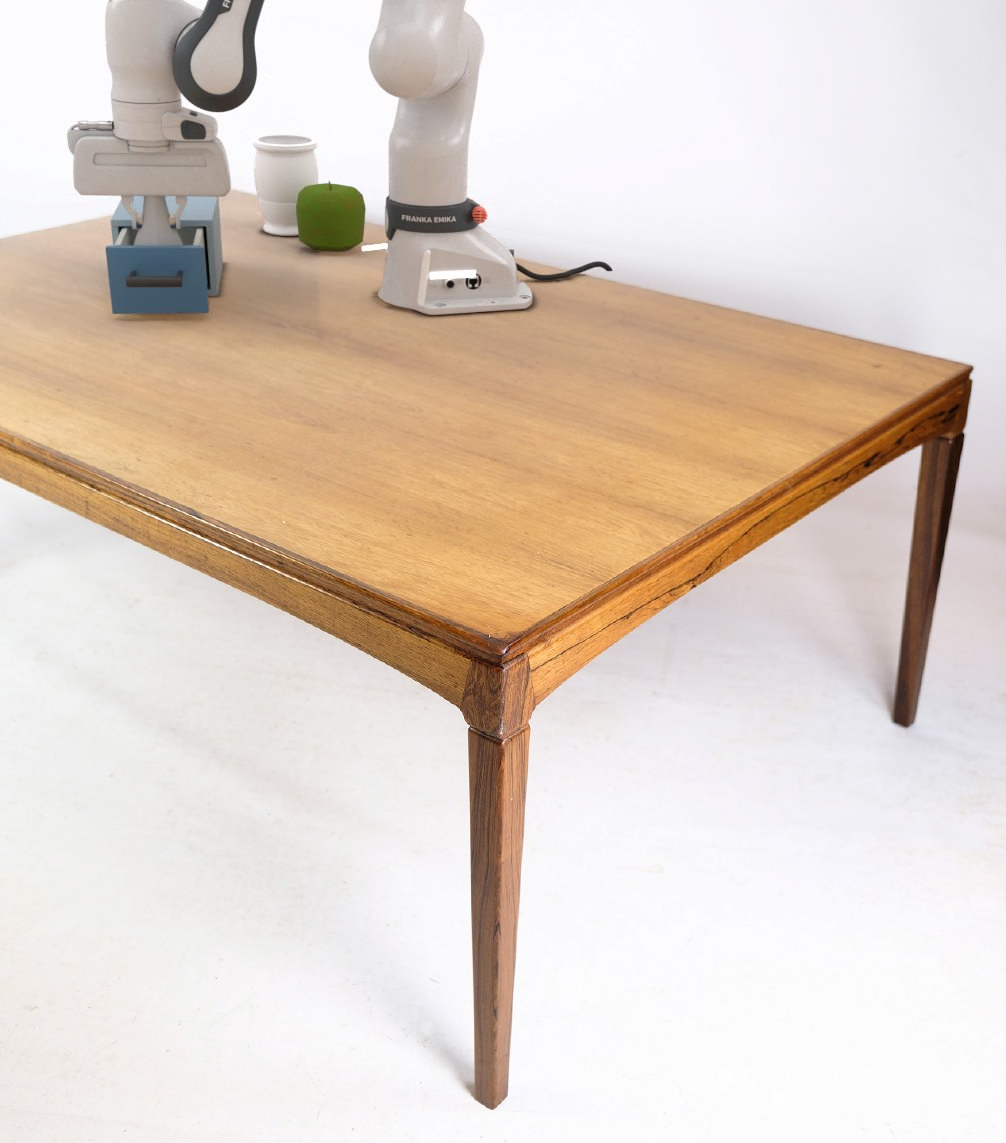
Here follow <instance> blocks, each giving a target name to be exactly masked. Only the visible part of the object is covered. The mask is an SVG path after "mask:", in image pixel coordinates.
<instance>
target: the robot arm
mask: <svg viewBox="0 0 1006 1143" xmlns="http://www.w3.org/2000/svg"><path fill="white" fill-rule="evenodd" d="M466 1H467V0H382V2H381V8H380V13H379V18H378V23H377V26H376V31H375V32H374V35H373V36H372V39H371V41H370V44H369V48H368V66H369V70H370V72H371V75H372V77H373V78H374V81H375V82H376V83H377V85H378V86H379V87H380V88H381V89H382V90H383V91H384V92H386V93H387V94H389V95H391V96H393V97H395V98H398V100H397V106H396V112H395V117H394V122H393V126H392V128H391V131H390V133H389V137H388V195H387V196H386V197H385V206H384V231H385V232H384V233H385V236H386V238H387V241H386V243H378V244H377V243H376V244H370V245H369V244H368V245H362V246H361V251H362V252H366V251H376V250H383V249H386V253H385V261H384V267H383V273H382V277H381V281H380V286H379V290H378V292H377V297H378V298H379V299H380V300H382V301H383V302H385V303H387V304H389V305H391V306H395V307H399V308H406V309H410V310H414V311H417V312H420V313H422V314H425V315H431V316H437V315H438V316H439V315H453V314H469V313H482V312H484V313H485V312H496V311H511V310H523V309H525V310H526V309H527V308H529V307H530V306H531V305H532V304H533V300H534V299H533V292H532V290H531V287H529V286H528V285H527V283H525V282H524V281H522V280H520V279H519V276H518V275H519V274H518V272H520V273H521V274H523V275H524V276H526V277H528V278H530V279H532V280H536V281H542V282H543V281H547V282H548V281H555V280H561V279H567V278H569V277H572V276H574V275H577V274H582V273H584V272H586V271H589V270H591V269H594V268H601V269H603V270H605V271H606V272H613V271H614V270H613V268H612V267H611V265H609V264H608V263H606V262H604V261H600V260H599V261H592V262H589V263H586V264H584V265H581V266H579V267H575V268H572V269H569V270H566V271H563V272H557V273H551V274H540V273H535V272H533V271H531V270H529V269H527V268H525V267H524V266H522V265H521V264H519V263H517V262H516V260H515V249H508V248H507V247H506V246H505V245H504V244H503V243H501V242H500V241H499V240H498V239H497V238H496V237H494V236H493V235H492V234H491V233H489V232H488V231H487V230H486V229H485V228H483V226H481V225H480V224H484V223H485V222H486V221H487V220H488V212H487V211H486V208H484V207H483V206H481V204H480V203H477V202H476V201H475V200H474V199H471V198H470V197H468V175H469V174H468V173H469V172H468V170H469V146H470V145H469V143H470V133H471V126H472V120H473V115H474V110H475V104H476V97H477V91H478V83H479V74H480V69H481V64H482V61H483V58H484V53H485V37H484V33H483V30H482V28H481V26H480V25H479V23H478V21H477V20H476V19H475V17H473V16H472V15H471V14H469V13H468V12H467V11H465V6H466ZM264 3H265V0H206V4H205V6H204V9H201V8H198V7H196V6H195V5H192V4H191V3H188V2H187V1H185V0H108V1H107V4H106V7H105V14H104V34H105V36H104V37H105V50H106V61H107V65H108V68H109V71H110V73H111V80H112V81H111V83H112V84H111V90H110V103H111V114H112V120H98V121H97V120H96V121H89V120H79V121H77V123H75V124H73V125H71V126H70V127H69V128H68V131H67V133H66V138H67V147H68V150H69V152H70V153H71V154H72V155H73V160H72V161H73V162H72V164H73V165H72V176H73V178H72V179H73V188H74V189H75V191H76V193H78V194H79V195H80V196H102V197H103V196H109V197H110V196H111V197H120V201H121V200H122V205H123V206H124V208H125V209H126V211H127V212H128V214H129V215H130V216H131V217H132V226H133V229H135V230H137V229H141V228H142V225H143V224H142V223H143V216H142V214H138V213H137V211H136V210H135V208H134V207H133V205H132V203H133V201H134V196H175V200H176V204H180V205H179V207H178V209H177V211H176V213H175V214H170V216H168V222H169V223H170V224H169V225H170V227H171V229H172V230H180V229H181V220H180V216H181V214H182V212H183V210H184V208H185V206H186V204H187V196H201V197H219V198H224V197H226V196H227V195H229V193H230V191H232V190H231V189H232V179H231V171H230V165H229V158H228V154H227V150H226V148H225V145H224V143H223V141H222V140H221V139H220V138H219V137H218V132H219V125H218V121H217V120H216V118H215V117H214V116H212V115H210V114H206V113H204V112H200V111H198V110H197V111H196V110H194V109H191V108H188V107H185V106H183V103H182V101H183V100H182V96H183V97H184V98H185V99H186V100H187V101H188V102H189V103H190V104H191V105H193V106H194V107H196V108H198V109H200V110H203V111H206V112H209V113H210V112H211V113H225V112H230V111H232V110H235V109H237V108H239V107H241V106H242V105H243V104H244V103H245V102H246V101H247V100H248V99H249V98H250V97H251V95H252V93H253V92H254V90H255V86H256V82H257V76H258V63H257V54H256V42H255V41H256V40H255V39H256V32H257V28H258V23H259V20H260V17H261V13H262V10H263V7H264ZM76 128H77V129H76Z"/></svg>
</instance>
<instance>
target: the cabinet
mask: <svg viewBox="0 0 1006 1143" xmlns="http://www.w3.org/2000/svg"><path fill="white" fill-rule="evenodd" d="M219 198H220V197H201V196H187V204H186V206H185V208H184V210H183V212H182V214H181V216H180V220H181V226H205V231H206V245H207V259H208V273H209V279H208V284H207V291H208V297H218V294H219V290H220V283H221V276H222V272H223V265H224V258H223V242H222V228H221V212H220V200H219ZM165 200H166V204H167V207H168V211H169V214H175V213H176V211H177V209H178V207H179V205H180V204H176V200H175V196H165ZM143 203H144V196H134V201H133V203H132V205H133V207H134V208H135V210H136V211H137V213H138V214H143ZM110 226H111V227H110V229H111V237H112V246H114V245H115V243H116V240H117V238H118V236H119V234H120V232H121V230H122V228H123V226H132V217H131V216H130V215H129V214H128V212H127V211H126V209H125V208H124V206H123V205H122V200H121V199H120V200H119V203H118V205H117V207H116V209H115V210H114V212H113V215H112V216H111V219H110Z"/></svg>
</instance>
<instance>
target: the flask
mask: <svg viewBox="0 0 1006 1143" xmlns="http://www.w3.org/2000/svg"><path fill="white" fill-rule="evenodd" d="M142 216H143V223H142V224H143V225H142V228H141V229H138V233H137V236H136V239H135V243H134V246H183V243H182V241H181V239H180V237H179V235H178V233H177V231H176V230H172V229H171V227H170V225H169V224H170V223H169V222H168V216H170V214H169V211H168V207H167V204H166V200H165V196H144V203H143V214H142Z"/></svg>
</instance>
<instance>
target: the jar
mask: <svg viewBox="0 0 1006 1143" xmlns="http://www.w3.org/2000/svg"><path fill="white" fill-rule="evenodd" d="M252 146H253V147H254V148H255V149H256V153H255V156H254V166H253V179H254V186H255V191H256V195H257V201H258V206H259V209H260V213H261V214H262V216H263V218H264V220H265V222H264V224H263V226H262V230H263V231H264V232H266V233H267V234H269V235H275V236H281V237H282V236H283V237H295V236H299V234H298V226H297V216H296V204H297V199H298V193H299V192H300V191H301V190H302V189H303V188H304V187H305V186H309V185H314V184H319V168H318V162H317V157H316V154H315V150H316V149H317V148H318V140H317V139H315V138H313V137H312V138H311V137H307V136H302V135H301V136H300V135H299V136H298V135H290V134H287V135H286V134H279V135H277V134H276V135H275V134H274V135H264V136H260V137H255V138H254V139H253V140H252Z"/></svg>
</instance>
